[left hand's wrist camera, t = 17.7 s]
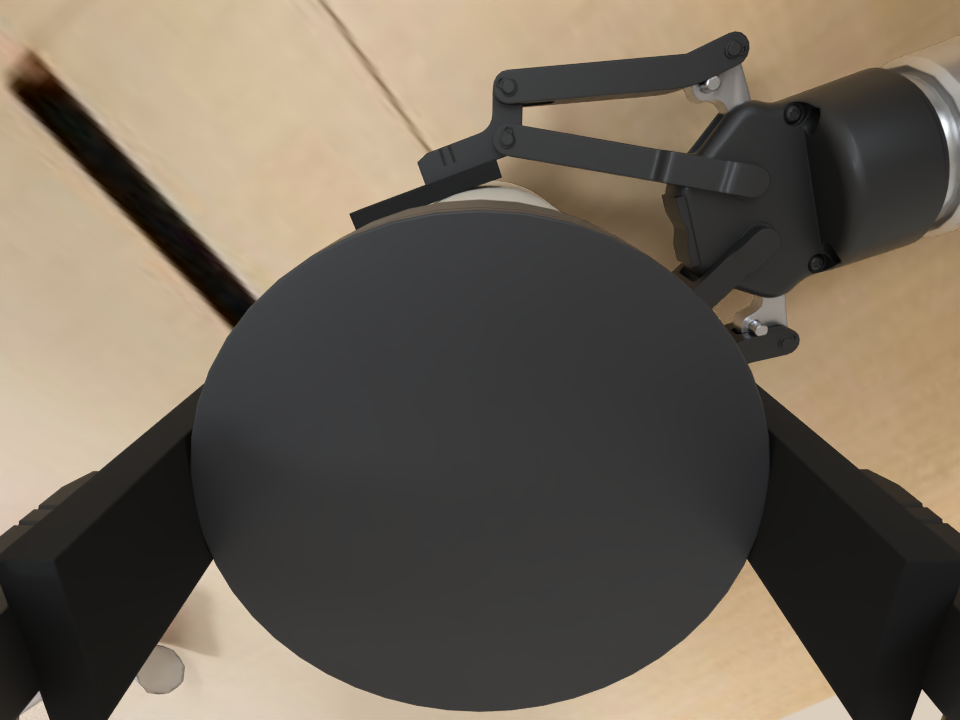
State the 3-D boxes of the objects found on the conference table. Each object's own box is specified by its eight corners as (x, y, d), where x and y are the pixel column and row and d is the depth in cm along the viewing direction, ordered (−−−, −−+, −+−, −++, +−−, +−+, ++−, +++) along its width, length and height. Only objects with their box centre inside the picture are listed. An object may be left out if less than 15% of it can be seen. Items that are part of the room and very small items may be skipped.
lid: (480, 68, 10) (480, 47, 8) (819, 448, 12) (885, 505, 10) (140, 447, 12) (74, 504, 10) (480, 697, 15) (479, 781, 13)
